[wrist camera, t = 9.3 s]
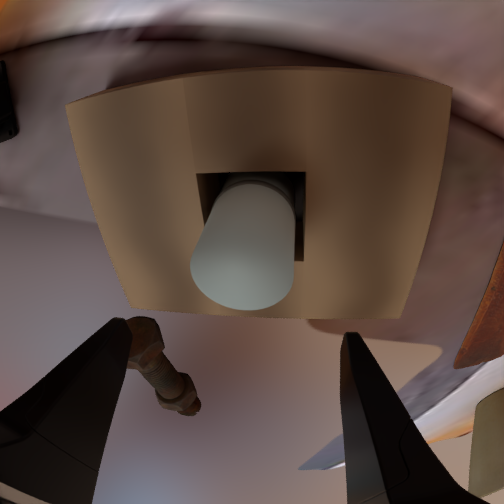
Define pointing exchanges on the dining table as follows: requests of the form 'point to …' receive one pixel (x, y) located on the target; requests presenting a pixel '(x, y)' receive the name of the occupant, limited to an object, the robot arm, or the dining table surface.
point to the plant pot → (488, 447)
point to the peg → (248, 242)
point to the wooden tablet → (486, 324)
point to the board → (268, 159)
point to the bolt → (160, 368)
